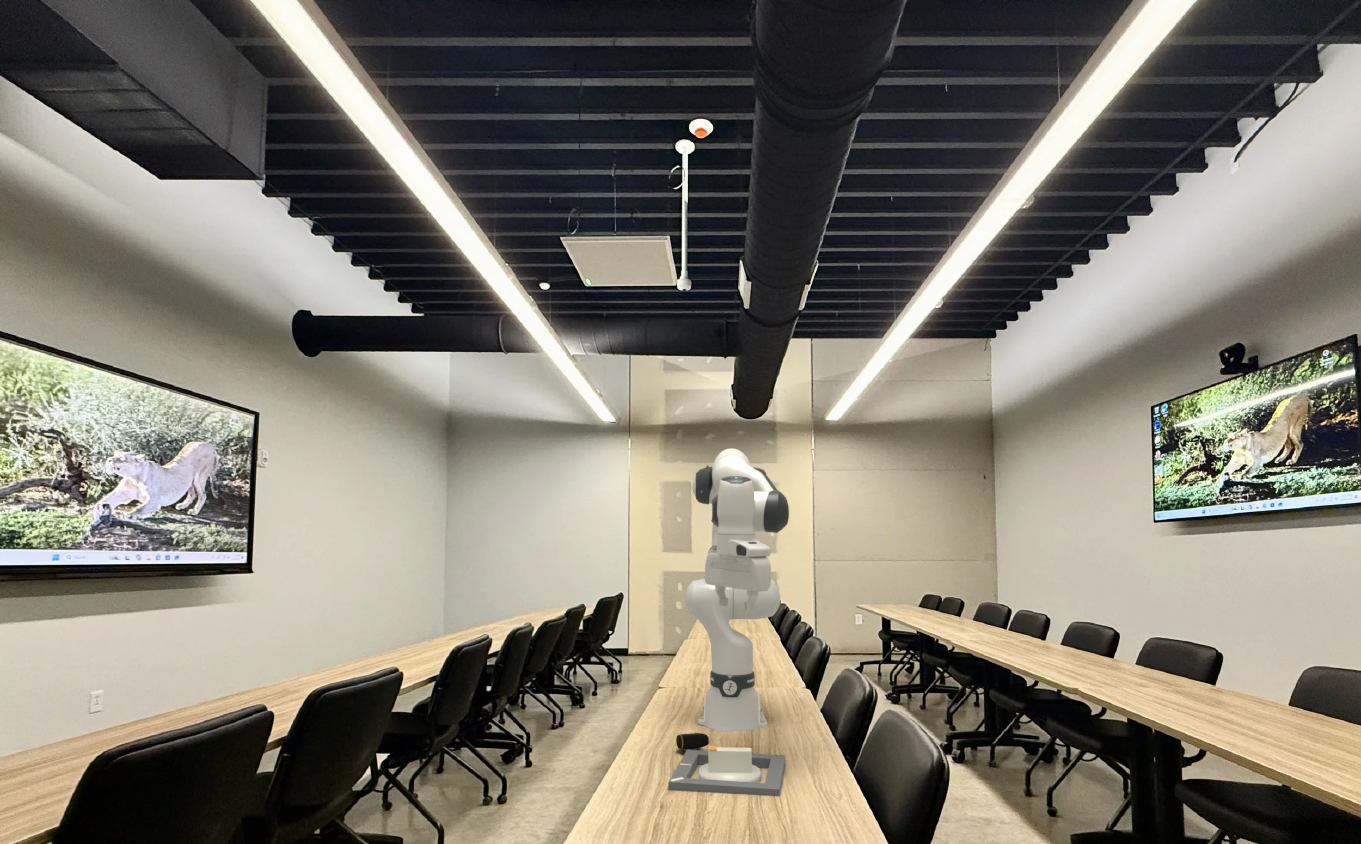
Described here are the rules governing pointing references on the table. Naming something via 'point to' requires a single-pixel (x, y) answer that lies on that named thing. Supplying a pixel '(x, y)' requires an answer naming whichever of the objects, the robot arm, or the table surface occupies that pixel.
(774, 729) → the table surface
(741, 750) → the dial knob
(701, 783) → the grey square frame
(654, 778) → the table surface
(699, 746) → the tape measure
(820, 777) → the table surface
